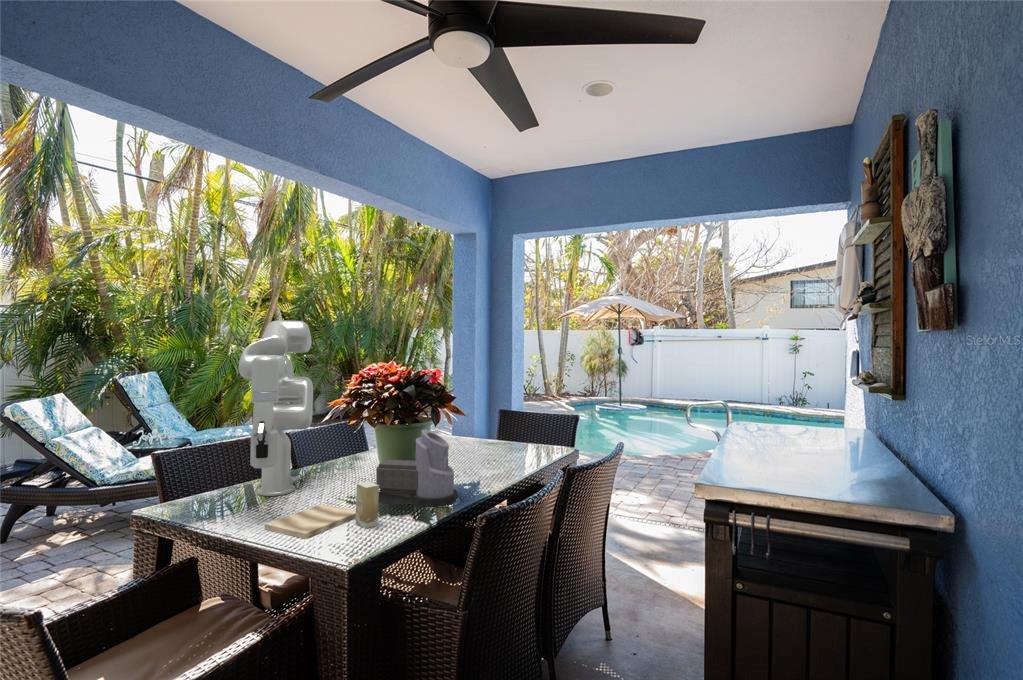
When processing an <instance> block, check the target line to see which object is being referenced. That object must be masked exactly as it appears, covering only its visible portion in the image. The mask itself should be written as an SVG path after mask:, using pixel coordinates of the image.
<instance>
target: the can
mask: <svg viewBox="0 0 1023 680" xmlns="http://www.w3.org/2000/svg"><path fill="white" fill-rule="evenodd" d="M264 427H265V426H264ZM257 433H258V431H257ZM263 434H266V432H263ZM264 438H265V437H264ZM277 441H278V431H277V430H276V429H275V426H273V428H271V432H270V435H268V436H267V444H268V457H267V458H256V442H257V434H256V435H255V436H253V435H252V431H251V432H250V459H249V460H250V462H249V463H250V465H249V466H251V467H253V468H254V469H262V468H269V467H273V466H274V465H275V464H276V463H277Z"/></svg>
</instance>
